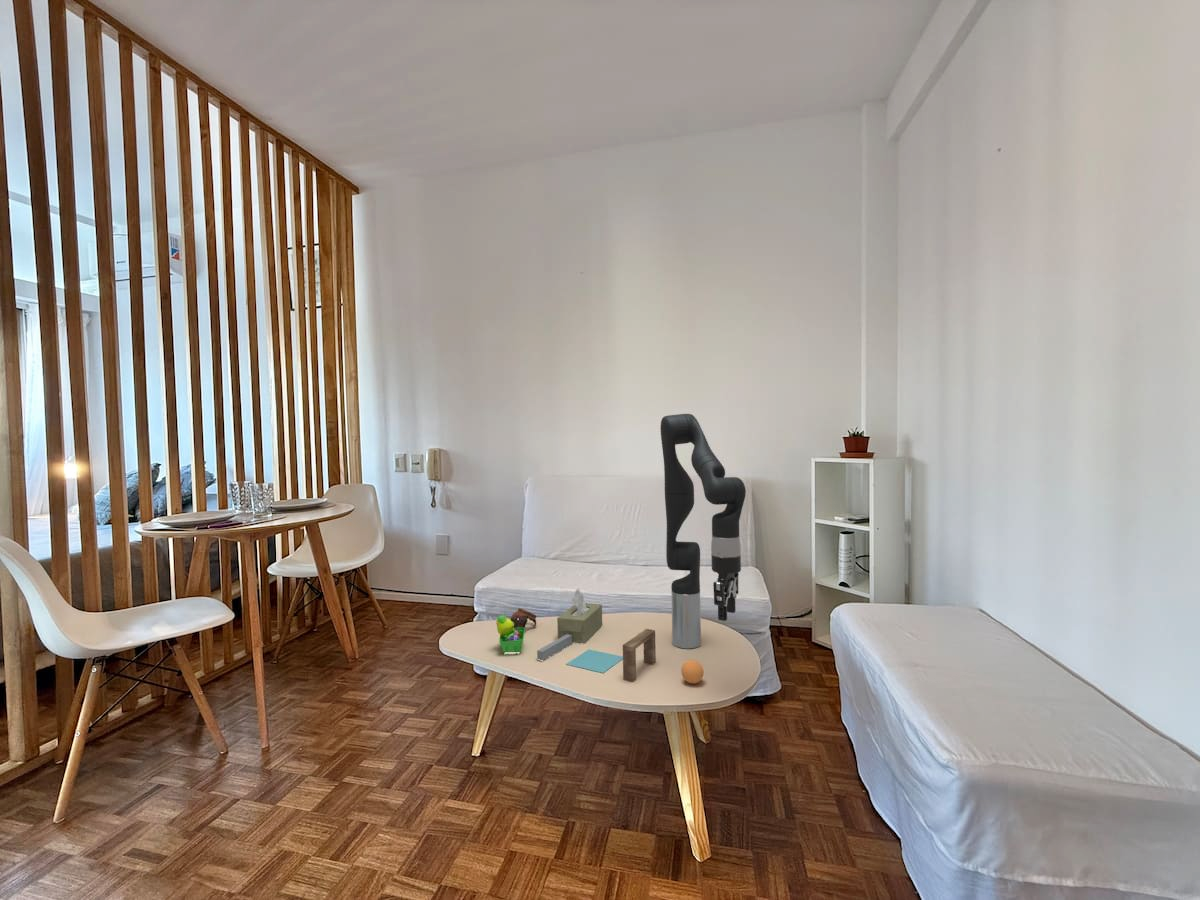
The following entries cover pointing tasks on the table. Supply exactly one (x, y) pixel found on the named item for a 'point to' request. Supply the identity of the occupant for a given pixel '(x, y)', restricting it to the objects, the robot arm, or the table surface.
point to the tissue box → (580, 620)
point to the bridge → (630, 653)
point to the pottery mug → (522, 618)
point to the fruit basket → (509, 635)
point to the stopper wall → (554, 647)
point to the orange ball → (692, 671)
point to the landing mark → (595, 661)
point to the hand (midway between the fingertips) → (727, 615)
